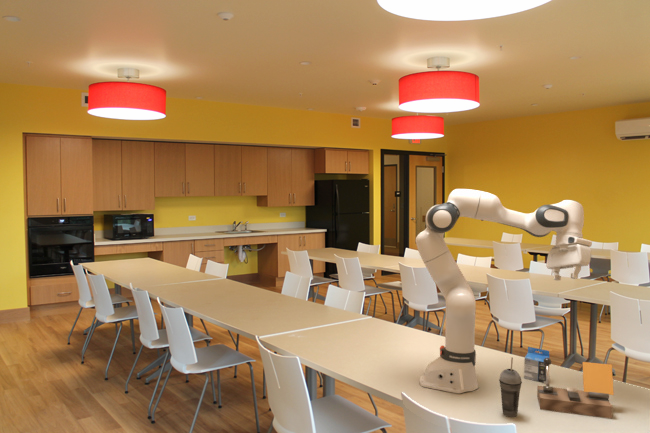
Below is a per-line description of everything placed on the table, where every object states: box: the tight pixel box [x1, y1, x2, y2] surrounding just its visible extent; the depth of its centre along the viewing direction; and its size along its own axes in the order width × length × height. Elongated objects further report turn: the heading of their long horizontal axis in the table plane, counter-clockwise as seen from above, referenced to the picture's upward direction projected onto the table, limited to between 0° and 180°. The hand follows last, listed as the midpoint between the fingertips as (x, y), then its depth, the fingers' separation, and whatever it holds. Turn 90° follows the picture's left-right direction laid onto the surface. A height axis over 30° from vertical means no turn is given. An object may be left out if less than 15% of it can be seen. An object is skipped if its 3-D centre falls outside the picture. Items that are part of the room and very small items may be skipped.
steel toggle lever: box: [542, 358, 553, 392], centre depth 177 cm, size 3×3×12 cm
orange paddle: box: [582, 361, 615, 400], centre depth 172 cm, size 9×2×11 cm, turn 71°
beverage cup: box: [498, 356, 523, 419], centre depth 166 cm, size 7×7×20 cm
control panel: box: [536, 385, 613, 419], centre depth 173 cm, size 22×12×5 cm, turn 71°
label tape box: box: [523, 346, 551, 384], centre depth 199 cm, size 9×4×12 cm, turn 46°
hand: (565, 279), depth 181 cm, fingers open, 8 cm apart
